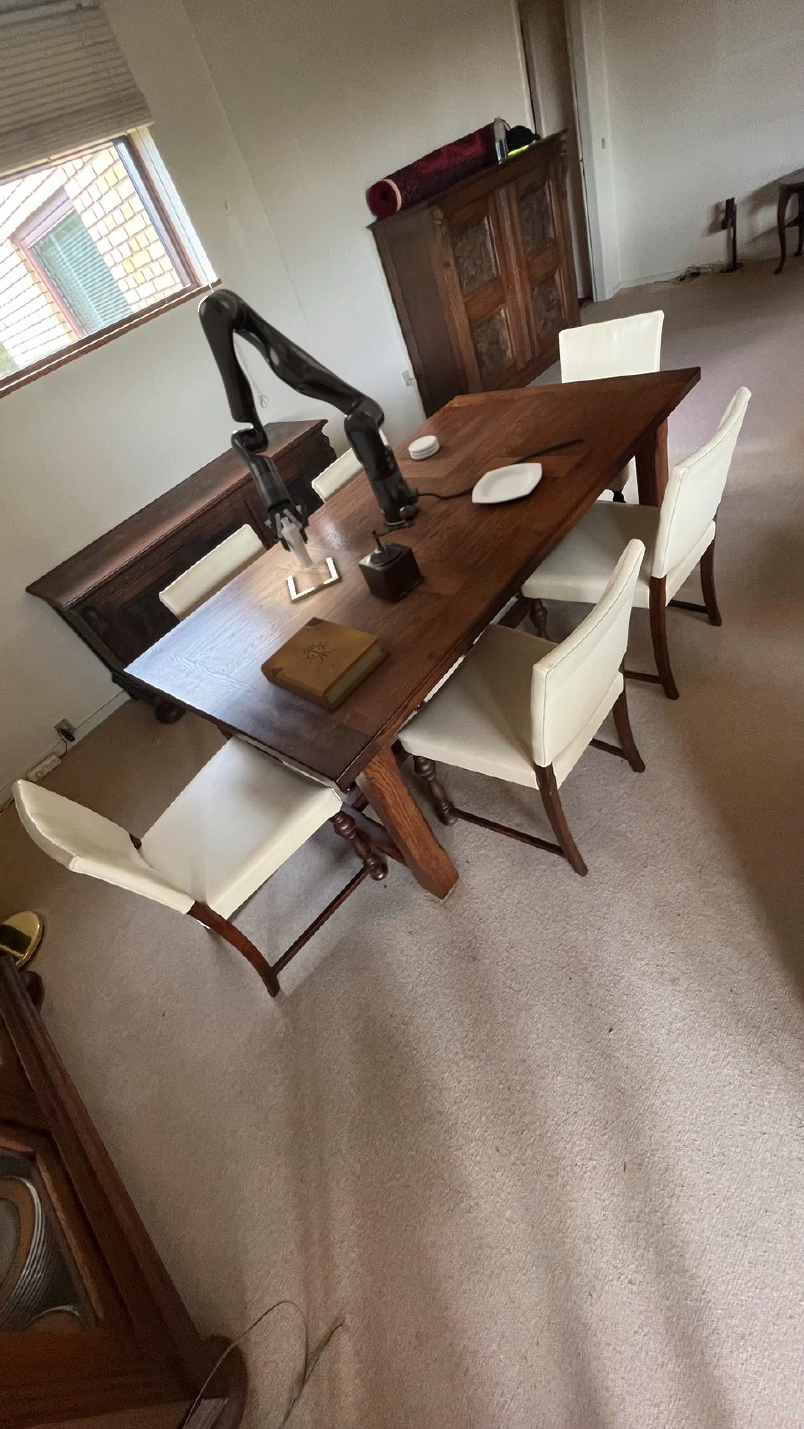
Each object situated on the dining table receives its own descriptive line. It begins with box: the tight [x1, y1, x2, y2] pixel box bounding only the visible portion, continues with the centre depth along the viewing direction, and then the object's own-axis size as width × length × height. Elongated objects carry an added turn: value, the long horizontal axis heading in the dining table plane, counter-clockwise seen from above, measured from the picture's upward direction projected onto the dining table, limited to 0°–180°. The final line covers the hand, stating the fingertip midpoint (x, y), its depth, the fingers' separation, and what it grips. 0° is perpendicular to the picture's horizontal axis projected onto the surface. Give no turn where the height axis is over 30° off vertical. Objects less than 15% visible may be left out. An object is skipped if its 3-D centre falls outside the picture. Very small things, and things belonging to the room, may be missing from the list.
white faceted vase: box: [281, 517, 315, 569], centre depth 176 cm, size 5×4×15 cm
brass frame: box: [286, 556, 341, 604], centre depth 176 cm, size 13×14×1 cm
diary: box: [260, 616, 388, 711], centre depth 142 cm, size 23×19×6 cm
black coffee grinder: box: [357, 506, 424, 603], centre depth 153 cm, size 16×11×18 cm
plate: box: [471, 462, 543, 504], centre depth 172 cm, size 19×19×2 cm
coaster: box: [408, 435, 440, 461], centre depth 209 cm, size 10×10×4 cm
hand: (297, 546), depth 175 cm, fingers closed on white faceted vase, 4 cm apart
